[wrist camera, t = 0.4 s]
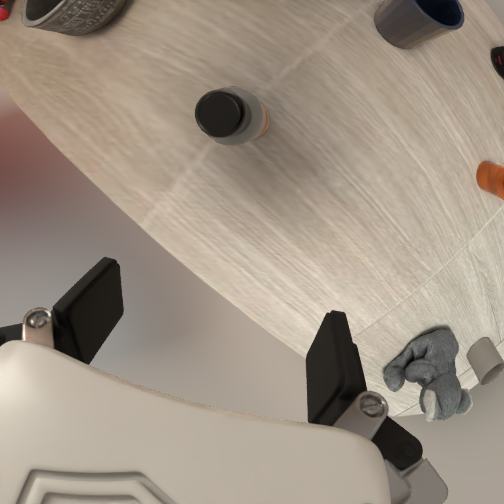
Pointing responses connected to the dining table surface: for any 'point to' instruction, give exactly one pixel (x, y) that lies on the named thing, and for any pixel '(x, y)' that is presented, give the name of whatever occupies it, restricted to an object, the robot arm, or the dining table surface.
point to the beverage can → (498, 59)
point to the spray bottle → (231, 115)
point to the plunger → (491, 178)
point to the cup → (485, 360)
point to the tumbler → (417, 20)
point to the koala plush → (431, 375)
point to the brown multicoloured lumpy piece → (3, 11)
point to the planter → (70, 14)
